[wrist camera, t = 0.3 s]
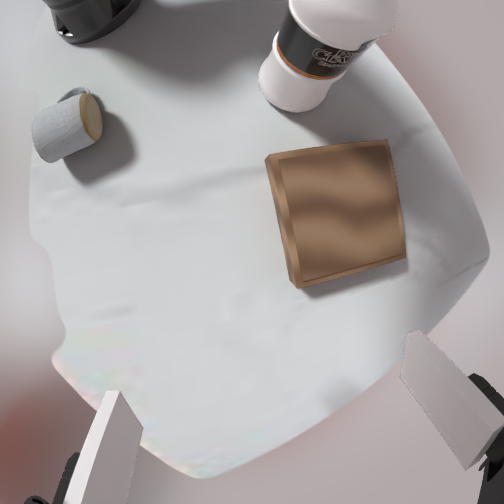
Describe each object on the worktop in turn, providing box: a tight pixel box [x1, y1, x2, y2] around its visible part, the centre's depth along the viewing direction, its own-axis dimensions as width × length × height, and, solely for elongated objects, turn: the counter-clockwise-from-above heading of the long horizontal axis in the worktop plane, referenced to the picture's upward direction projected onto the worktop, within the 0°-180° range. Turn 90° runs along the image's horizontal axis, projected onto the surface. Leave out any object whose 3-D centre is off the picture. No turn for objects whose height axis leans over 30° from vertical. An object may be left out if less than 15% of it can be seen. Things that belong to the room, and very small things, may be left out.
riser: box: [265, 139, 406, 289], centre depth 35 cm, size 16×16×4 cm
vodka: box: [258, 0, 399, 112], centre depth 19 cm, size 9×9×30 cm
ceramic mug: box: [32, 87, 103, 163], centre depth 27 cm, size 11×8×8 cm
